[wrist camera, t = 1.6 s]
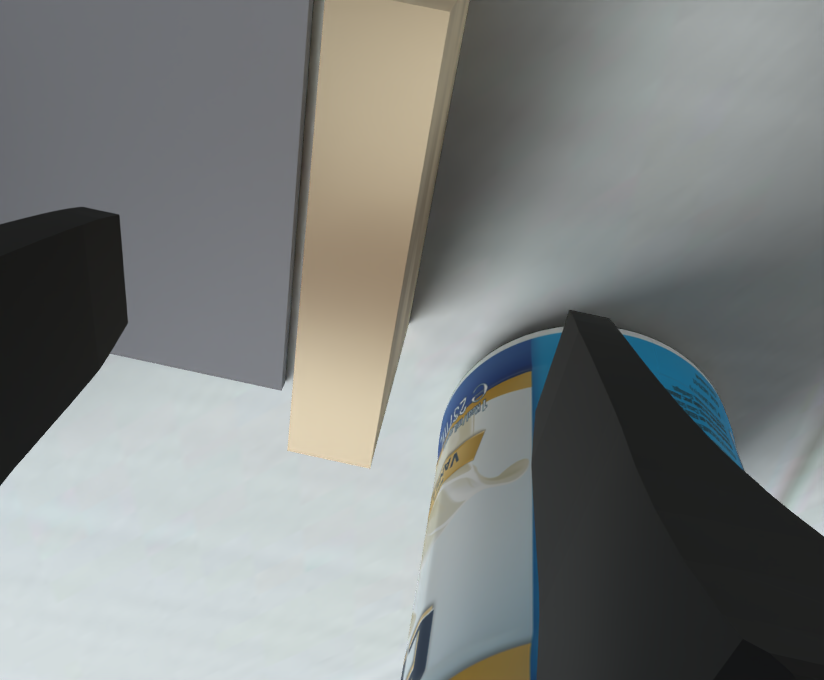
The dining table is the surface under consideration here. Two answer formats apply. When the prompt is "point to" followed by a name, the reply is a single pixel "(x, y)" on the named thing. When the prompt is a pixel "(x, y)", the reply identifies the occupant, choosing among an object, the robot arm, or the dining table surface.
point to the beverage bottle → (507, 510)
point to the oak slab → (368, 211)
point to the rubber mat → (169, 160)
